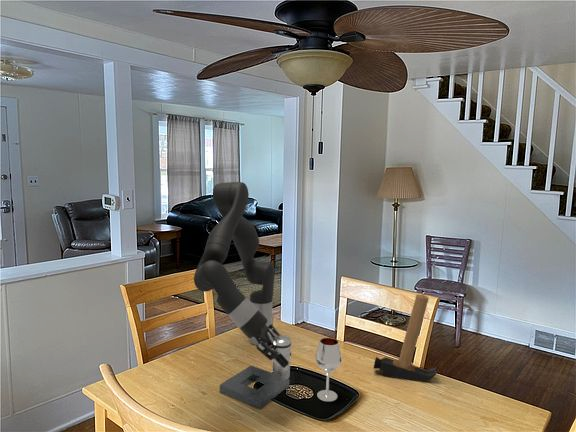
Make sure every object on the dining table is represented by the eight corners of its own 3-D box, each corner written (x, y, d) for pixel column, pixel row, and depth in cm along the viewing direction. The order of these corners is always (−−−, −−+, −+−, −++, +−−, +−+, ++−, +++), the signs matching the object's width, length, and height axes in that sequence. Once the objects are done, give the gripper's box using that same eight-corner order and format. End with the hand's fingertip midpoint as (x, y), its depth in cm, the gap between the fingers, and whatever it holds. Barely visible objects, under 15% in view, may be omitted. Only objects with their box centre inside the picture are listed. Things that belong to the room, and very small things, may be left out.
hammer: (430, 382, 146) (453, 302, 141) (432, 389, 141) (455, 307, 136) (373, 364, 150) (394, 286, 145) (373, 371, 145) (394, 290, 140)
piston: (278, 369, 124) (279, 334, 123) (293, 374, 121) (294, 338, 120) (268, 376, 120) (269, 340, 118) (283, 382, 117) (284, 344, 115)
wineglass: (323, 405, 126) (325, 349, 124) (309, 392, 133) (311, 338, 131) (345, 399, 129) (347, 344, 127) (330, 386, 137) (332, 334, 135)
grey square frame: (250, 372, 145) (250, 365, 145) (289, 386, 136) (289, 378, 136) (219, 392, 132) (219, 384, 131) (259, 409, 123) (260, 401, 123)
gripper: (251, 318, 112) (294, 364, 112) (262, 301, 126) (300, 342, 126) (232, 335, 113) (274, 381, 113) (244, 316, 127) (282, 357, 127)
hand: (287, 360), depth 120 cm, fingers closed on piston, 5 cm apart
